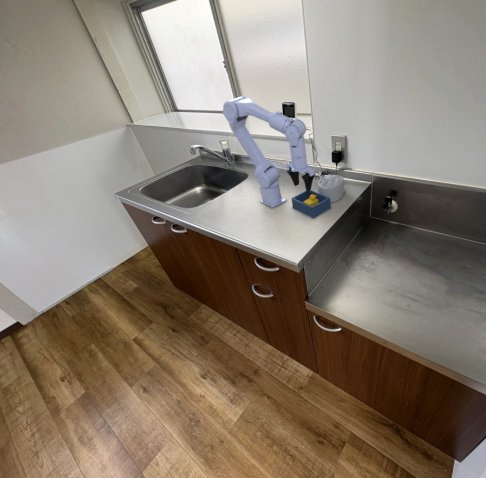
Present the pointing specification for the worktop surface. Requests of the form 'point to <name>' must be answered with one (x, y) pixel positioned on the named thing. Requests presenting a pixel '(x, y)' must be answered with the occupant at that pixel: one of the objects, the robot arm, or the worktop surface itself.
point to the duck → (312, 200)
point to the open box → (308, 210)
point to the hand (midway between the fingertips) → (302, 187)
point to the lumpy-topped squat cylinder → (331, 187)
